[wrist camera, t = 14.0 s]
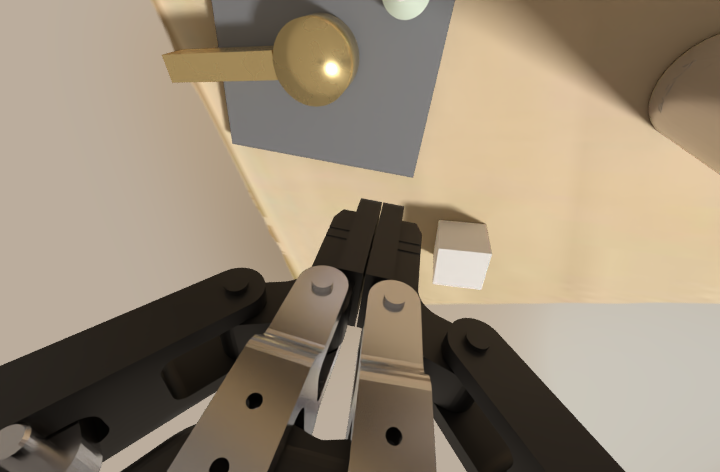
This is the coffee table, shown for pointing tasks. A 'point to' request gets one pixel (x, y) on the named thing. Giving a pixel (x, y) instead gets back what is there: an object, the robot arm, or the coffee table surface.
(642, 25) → the coffee table surface
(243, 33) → the grey base plate
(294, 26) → the tan handled round piece
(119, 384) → the robot arm
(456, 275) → the beige cube
